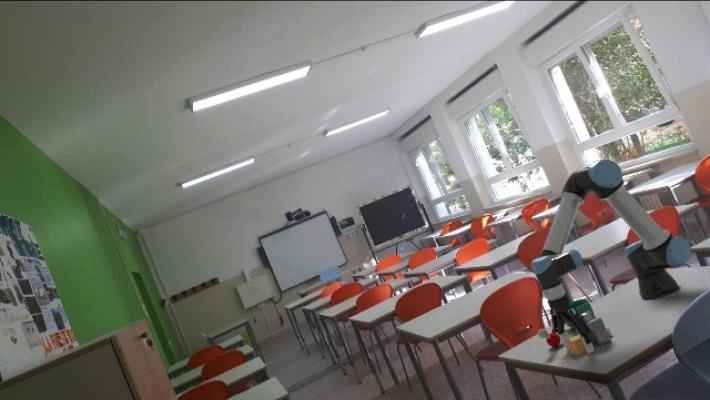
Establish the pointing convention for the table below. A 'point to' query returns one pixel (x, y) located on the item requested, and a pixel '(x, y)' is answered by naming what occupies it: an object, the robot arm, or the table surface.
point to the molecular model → (550, 336)
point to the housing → (595, 328)
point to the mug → (580, 308)
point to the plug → (580, 343)
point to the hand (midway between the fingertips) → (580, 350)
